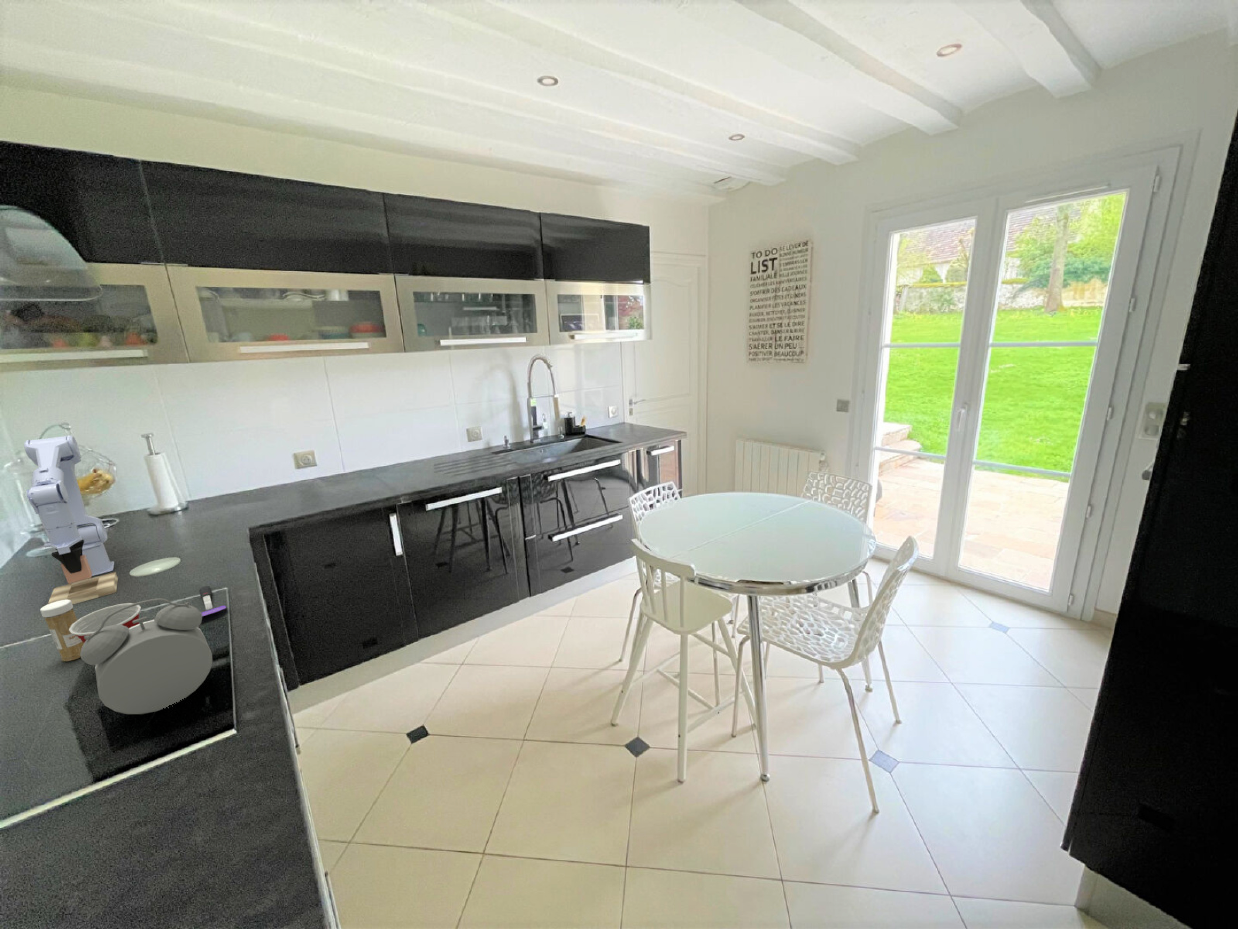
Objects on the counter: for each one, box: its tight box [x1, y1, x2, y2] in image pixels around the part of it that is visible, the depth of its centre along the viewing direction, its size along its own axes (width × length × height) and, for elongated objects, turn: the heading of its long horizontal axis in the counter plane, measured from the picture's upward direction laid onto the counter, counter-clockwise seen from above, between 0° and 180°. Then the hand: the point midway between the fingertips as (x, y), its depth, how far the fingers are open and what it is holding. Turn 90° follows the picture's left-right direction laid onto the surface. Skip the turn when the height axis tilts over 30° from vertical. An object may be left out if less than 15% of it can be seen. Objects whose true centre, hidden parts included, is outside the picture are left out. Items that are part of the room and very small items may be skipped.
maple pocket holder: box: [47, 571, 119, 606], centre depth 138 cm, size 13×13×2 cm
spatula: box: [199, 585, 227, 617], centre depth 128 cm, size 24×7×2 cm, turn 43°
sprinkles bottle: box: [39, 600, 84, 662], centre depth 107 cm, size 5×5×13 cm
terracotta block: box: [60, 555, 93, 585], centre depth 136 cm, size 4×4×6 cm
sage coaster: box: [129, 556, 181, 578], centre depth 153 cm, size 12×12×1 cm
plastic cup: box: [69, 602, 142, 643], centre depth 103 cm, size 11×11×12 cm
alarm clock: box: [80, 597, 213, 715], centre depth 89 cm, size 16×9×22 cm, turn 139°
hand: (77, 569), depth 136 cm, fingers closed on terracotta block, 4 cm apart
